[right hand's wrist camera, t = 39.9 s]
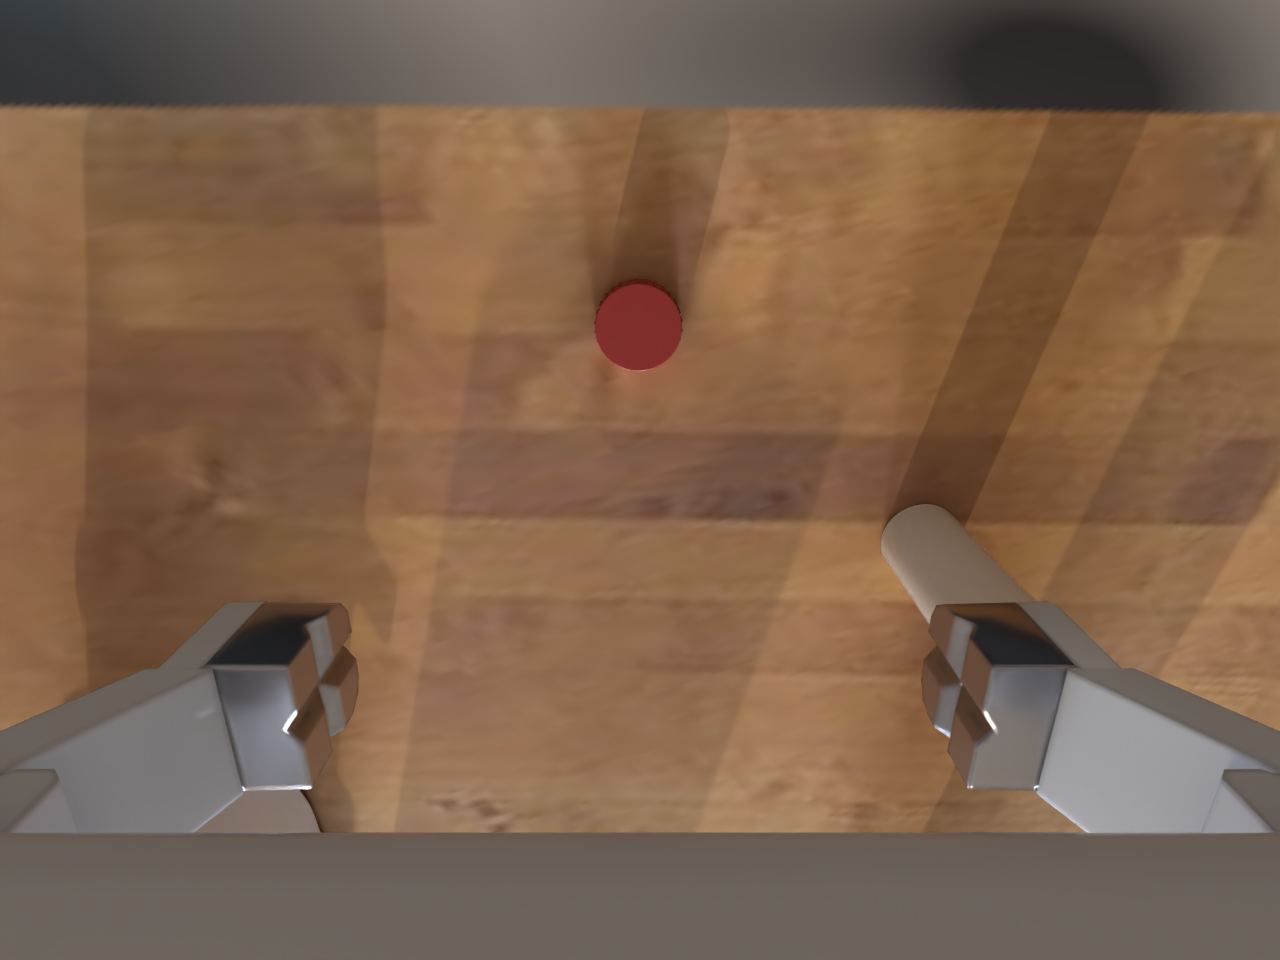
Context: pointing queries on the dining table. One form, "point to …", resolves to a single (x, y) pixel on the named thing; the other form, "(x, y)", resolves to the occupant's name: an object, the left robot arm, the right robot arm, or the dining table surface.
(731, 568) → the dining table surface
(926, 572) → the bottle
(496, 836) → the right robot arm
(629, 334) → the cap
